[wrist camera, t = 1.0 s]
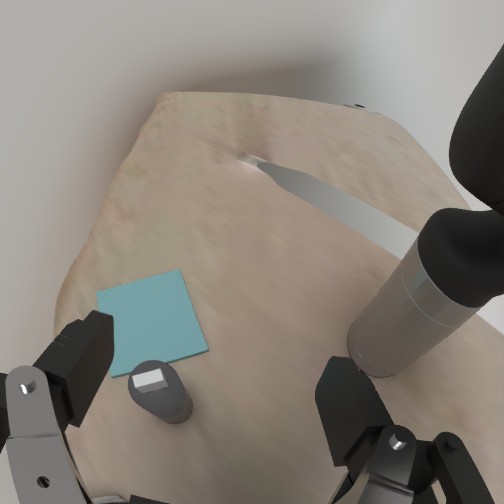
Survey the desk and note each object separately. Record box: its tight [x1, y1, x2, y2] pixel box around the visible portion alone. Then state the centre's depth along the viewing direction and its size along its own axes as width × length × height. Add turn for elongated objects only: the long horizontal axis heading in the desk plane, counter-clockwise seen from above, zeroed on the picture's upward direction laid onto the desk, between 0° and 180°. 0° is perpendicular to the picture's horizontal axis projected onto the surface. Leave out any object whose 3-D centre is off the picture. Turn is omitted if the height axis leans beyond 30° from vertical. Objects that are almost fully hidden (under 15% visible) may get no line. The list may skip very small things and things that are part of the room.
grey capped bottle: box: [128, 360, 193, 424], centre depth 23 cm, size 4×4×12 cm
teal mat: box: [97, 269, 209, 378], centre depth 33 cm, size 12×12×1 cm
